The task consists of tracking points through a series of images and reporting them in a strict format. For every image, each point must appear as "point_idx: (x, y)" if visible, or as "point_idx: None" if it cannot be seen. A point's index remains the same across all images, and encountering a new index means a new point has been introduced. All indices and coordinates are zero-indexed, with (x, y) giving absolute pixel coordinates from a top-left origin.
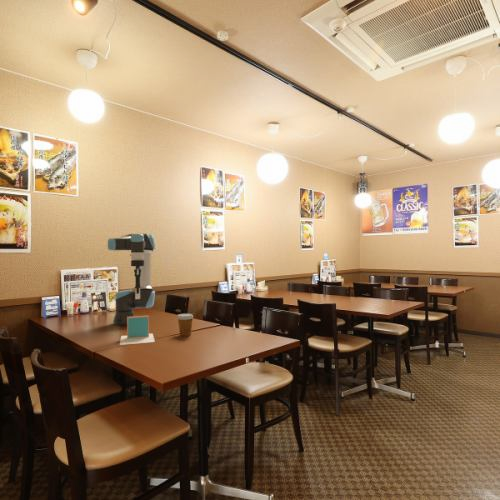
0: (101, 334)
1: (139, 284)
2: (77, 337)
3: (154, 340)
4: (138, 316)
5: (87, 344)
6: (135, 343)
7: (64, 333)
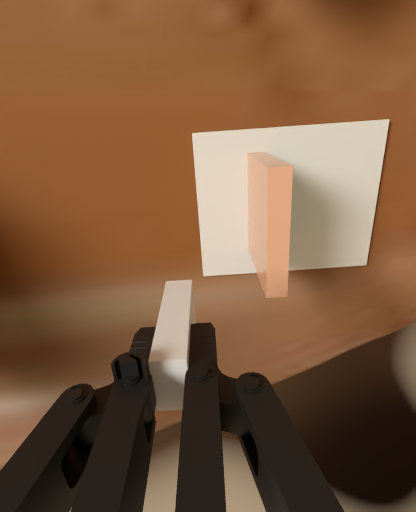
0: None
1: (285, 416)
2: None
3: (360, 121)
4: (281, 234)
5: (285, 363)
6: (374, 208)
7: None
